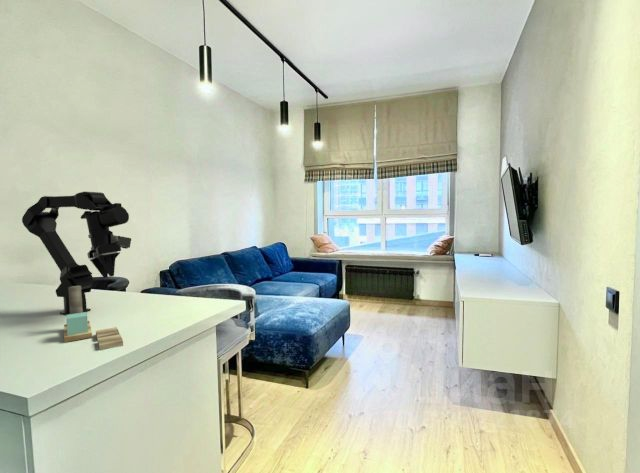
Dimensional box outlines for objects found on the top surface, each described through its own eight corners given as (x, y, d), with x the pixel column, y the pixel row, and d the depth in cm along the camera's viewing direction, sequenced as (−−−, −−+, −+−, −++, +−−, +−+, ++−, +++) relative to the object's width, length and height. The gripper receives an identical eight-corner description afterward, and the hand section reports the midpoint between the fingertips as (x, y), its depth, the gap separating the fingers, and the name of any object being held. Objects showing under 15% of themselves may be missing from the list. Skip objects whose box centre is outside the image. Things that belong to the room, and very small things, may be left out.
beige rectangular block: (95, 334, 96) (95, 330, 96) (116, 331, 99) (116, 326, 99) (99, 350, 85) (99, 345, 85) (123, 345, 88) (123, 340, 88)
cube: (67, 331, 96) (66, 314, 95) (87, 327, 98) (86, 312, 98) (67, 335, 92) (66, 318, 92) (88, 332, 95) (87, 315, 94)
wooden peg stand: (64, 328, 102) (61, 286, 101) (89, 324, 105) (86, 284, 104) (64, 342, 91) (61, 295, 90) (92, 337, 94) (89, 292, 93)
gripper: (133, 222, 113) (143, 270, 114) (119, 230, 127) (128, 272, 127) (93, 227, 106) (104, 278, 106) (83, 235, 120) (92, 280, 120)
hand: (108, 276), depth 115 cm, fingers open, 9 cm apart
